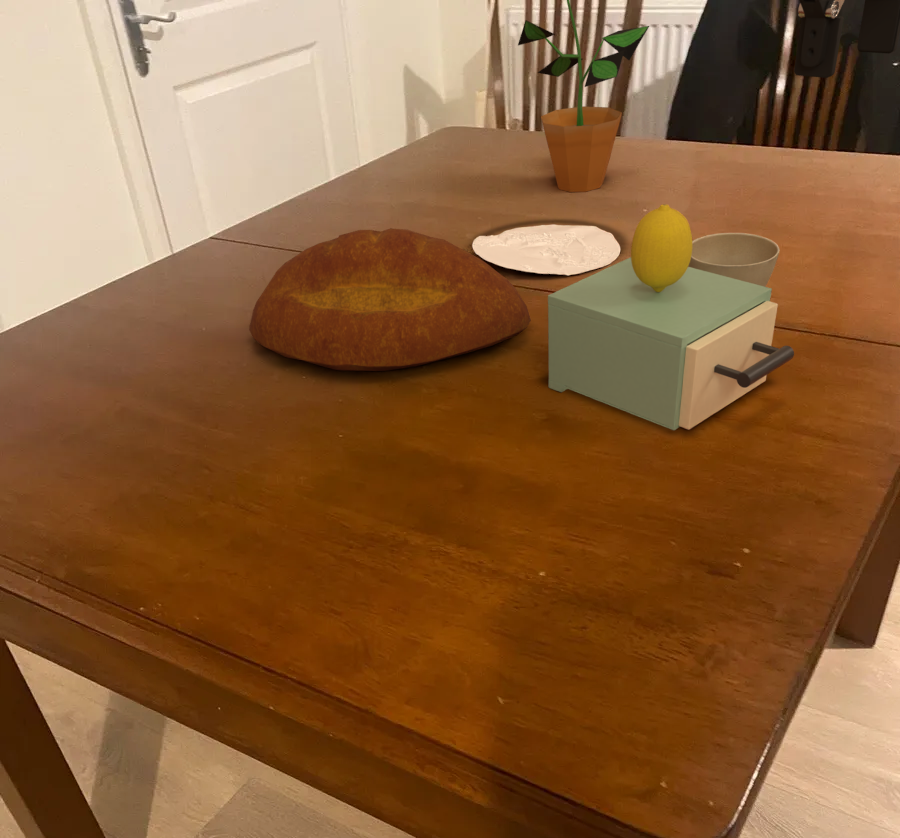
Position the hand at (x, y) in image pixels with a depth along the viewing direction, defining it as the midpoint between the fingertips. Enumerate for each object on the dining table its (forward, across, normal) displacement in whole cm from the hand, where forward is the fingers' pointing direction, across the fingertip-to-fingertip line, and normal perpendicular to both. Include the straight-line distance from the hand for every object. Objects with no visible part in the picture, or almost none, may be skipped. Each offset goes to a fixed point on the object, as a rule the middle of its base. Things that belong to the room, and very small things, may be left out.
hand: (845, 63), depth 75 cm
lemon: (+18, -10, +10) cm, 23 cm away
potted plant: (+28, +38, +61) cm, 77 cm away
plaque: (+28, +12, +45) cm, 54 cm away
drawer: (+27, -10, +7) cm, 29 cm away
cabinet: (+28, -10, +10) cm, 31 cm away
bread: (+28, -20, +40) cm, 53 cm away
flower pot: (+28, +10, +15) cm, 33 cm away
